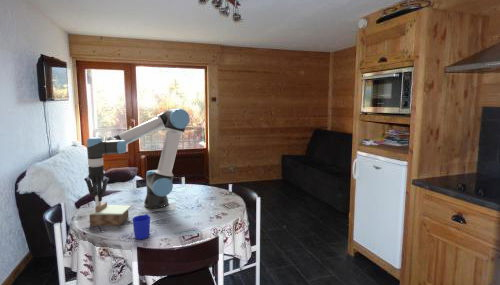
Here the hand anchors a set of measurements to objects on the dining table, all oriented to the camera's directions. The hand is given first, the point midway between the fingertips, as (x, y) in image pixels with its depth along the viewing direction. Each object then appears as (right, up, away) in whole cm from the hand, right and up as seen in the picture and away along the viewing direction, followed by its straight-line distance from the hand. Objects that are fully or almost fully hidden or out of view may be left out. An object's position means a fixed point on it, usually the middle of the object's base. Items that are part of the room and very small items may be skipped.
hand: (98, 206), depth 168 cm
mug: (+31, -11, -16) cm, 37 cm away
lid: (+8, -2, 0) cm, 8 cm away
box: (+6, -8, +1) cm, 10 cm away
